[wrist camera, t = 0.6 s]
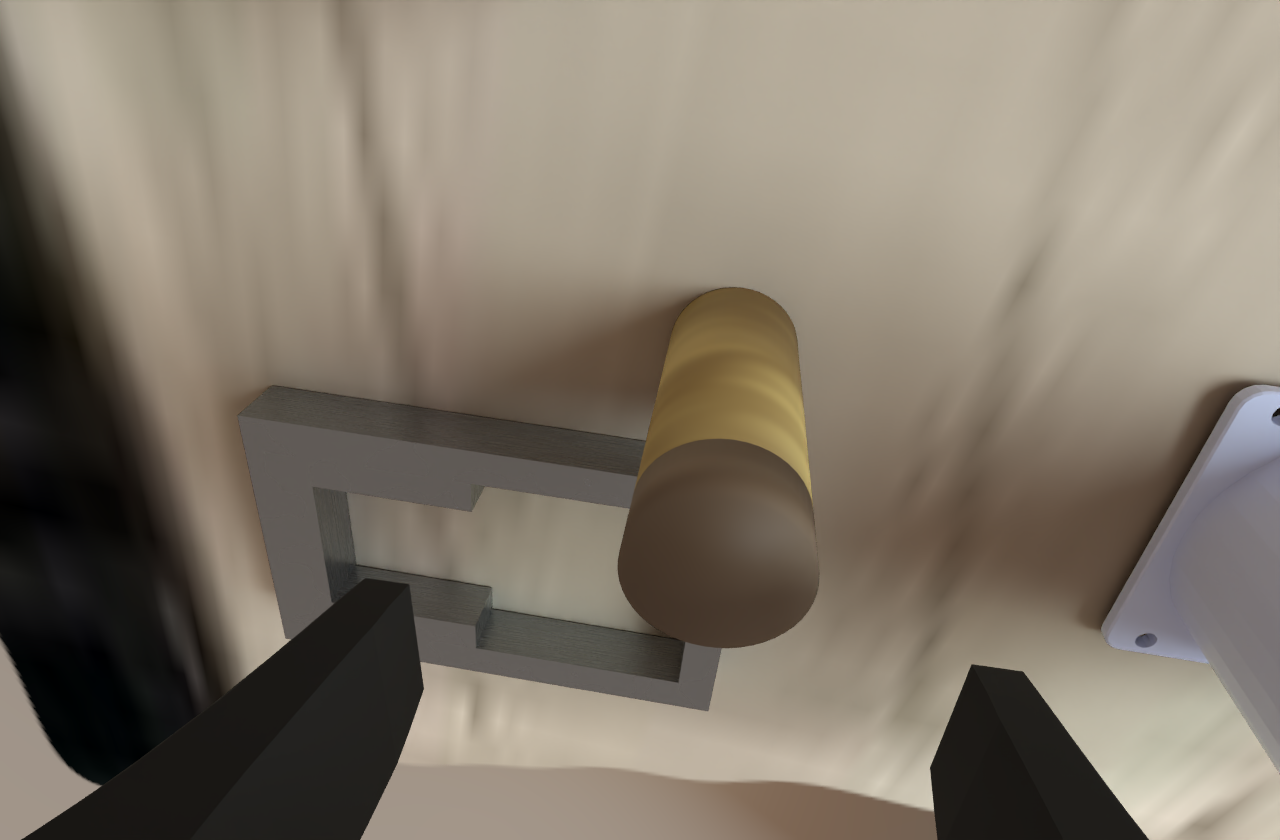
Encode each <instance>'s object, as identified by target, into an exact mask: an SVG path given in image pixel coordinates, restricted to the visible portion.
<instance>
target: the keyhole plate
mask: <svg viewBox="0 0 1280 840" xmlns="http://www.w3.org/2000/svg"><path fill="white" fill-rule="evenodd" d="M237 416H238V421H239V426H240V430H241V435H242V439H243V444H244V449H245V453H246V458H247V462H248V467H249V472H250V476H251V481H252V486H253V490H254V495H255V499H256V504H257V509H258V513H259V518H260V522H261V527H262V532H263V536H264V541H265V545H266V550H267V555H268V559H269V564H270V569H271V573H272V578H273V582H274V587H275V592H276V596H277V601H278V605H279V610H280V615H281V619H282V624H283V628H284V633H285V638H286V639H293V638H294V637H295V636H296V635H298V634H299V633H300V632H301V631H302V630H303V629H305V628H306V627H307V626H308V625H309V624H311V623H312V622H313V621H314V620H315V619H316V618H318V617H319V616H320V615H321V614H322V613H323V612H325V611H326V610H327V609H328V608H329V607H330V606H332V605H333V604H334V603H335V602H336V601H338V600H339V599H340V598H341V597H342V596H343V595H345V594H346V593H347V592H348V591H350V590H351V589H352V588H353V587H354V586H356V585H357V584H358V583H359V582H361V581H362V580H363V579H365V578H370V579H377V580H384V581H391V582H398V583H405V584H409V585H410V593H411V600H412V607H413V614H414V622H415V629H416V636H417V643H418V650H419V658H420V662H426V663H431V664H437V665H443V666H449V667H455V668H460V669H466V670H472V671H478V672H484V673H489V674H495V675H501V676H507V677H512V678H518V679H524V680H530V681H536V682H541V683H547V684H553V685H559V686H565V687H570V688H576V689H582V690H588V691H594V692H599V693H605V694H611V695H617V696H623V697H628V698H634V699H640V700H646V701H652V702H657V703H663V704H669V705H675V706H681V707H686V708H692V709H698V710H704V711H708V710H709V705H710V701H711V696H712V691H713V686H714V681H715V677H716V672H717V667H718V662H719V657H720V653H721V648H713V647H705V646H700V645H695V644H691V643H687V642H684V641H681V640H675V639H669V638H663V637H657V636H651V635H645V634H639V633H633V632H627V631H621V630H615V629H609V628H603V627H597V626H591V625H585V624H579V623H573V622H567V621H561V620H555V619H549V618H543V617H537V616H531V615H525V614H519V613H513V612H507V611H501V610H495V609H492V588H490V587H484V586H478V585H472V584H466V583H459V582H453V581H447V580H441V579H435V578H429V577H423V576H417V575H411V574H405V573H399V572H393V571H387V570H381V569H374V568H368V567H362V566H356V561H355V554H354V546H353V539H352V532H351V525H350V517H349V510H348V503H347V496H346V492H350V493H356V494H363V495H369V496H375V497H382V498H388V499H394V500H401V501H407V502H413V503H420V504H426V505H432V506H438V507H445V508H451V509H457V510H464V511H470V512H472V510H473V508H474V506H475V504H476V502H477V500H478V498H479V497H480V495H481V493H482V491H483V489H484V487H485V486H488V487H495V488H501V489H508V490H514V491H520V492H527V493H533V494H540V495H546V496H553V497H559V498H565V499H572V500H578V501H585V502H591V503H598V504H604V505H610V506H617V507H623V508H630V506H631V502H632V497H633V493H634V489H635V485H636V481H637V477H638V472H639V468H640V464H641V460H642V456H643V451H644V447H645V443H646V441H640V440H633V439H627V438H620V437H613V436H607V435H600V434H593V433H586V432H580V431H573V430H566V429H560V428H553V427H546V426H540V425H533V424H526V423H519V422H513V421H506V420H499V419H493V418H486V417H479V416H473V415H466V414H459V413H453V412H446V411H439V410H432V409H426V408H419V407H412V406H406V405H399V404H392V403H386V402H379V401H372V400H365V399H359V398H352V397H345V396H339V395H332V394H325V393H319V392H312V391H305V390H299V389H292V388H285V387H278V386H271V387H269V388H268V389H267V390H266V391H265V392H264V393H263V394H261V395H260V396H259V397H258V398H257V399H256V400H255V401H253V402H252V403H251V404H250V405H249V406H248V407H247V408H245V409H244V410H243V411H242V412H241V413H240V414H239V415H237Z"/></svg>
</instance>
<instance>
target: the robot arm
mask: <svg viewBox="0 0 1280 840" xmlns="http://www.w3.org/2000/svg"><path fill="white" fill-rule="evenodd" d="M1278 408H1280V387H1277V386H1270V385H1253V386H1250V387H1247V388H1244V389H1242V390H1241V391H1239V392H1238V393H1236V394H1235V395H1234V396H1233V398H1232V399H1231V400H1230V401H1229V403H1228V405H1227V406H1226V408H1225V410H1224V412H1223V413H1222V415H1221V417H1220V419H1219V420H1218V422H1217V424H1216V426H1215V427H1214V429H1213V431H1212V433H1211V434H1210V436H1209V438H1208V440H1207V442H1206V443H1205V445H1204V447H1203V449H1202V450H1201V452H1200V454H1199V456H1198V457H1197V459H1196V461H1195V463H1194V464H1193V466H1192V468H1191V470H1190V471H1189V473H1188V475H1187V477H1186V478H1185V480H1184V482H1183V484H1182V485H1181V487H1180V489H1179V491H1178V492H1177V494H1176V496H1175V498H1174V499H1173V501H1172V503H1171V505H1170V507H1169V508H1168V510H1167V512H1166V514H1165V515H1164V517H1163V519H1162V521H1161V522H1160V524H1159V526H1158V528H1157V529H1156V531H1155V533H1154V535H1153V536H1152V538H1151V540H1150V542H1149V543H1148V545H1147V547H1146V549H1145V550H1144V552H1143V554H1142V556H1141V557H1140V559H1139V561H1138V563H1137V565H1136V566H1135V568H1134V570H1133V572H1132V573H1131V575H1130V577H1129V579H1128V580H1127V582H1126V584H1125V586H1124V587H1123V589H1122V591H1121V593H1120V594H1119V596H1118V598H1117V600H1116V601H1115V603H1114V605H1113V607H1112V608H1111V610H1110V612H1109V614H1108V615H1107V617H1106V619H1105V621H1104V622H1103V624H1102V627H1101V632H1102V635H1103V637H1104V639H1105V641H1106V643H1107V644H1108V645H1110V646H1111V647H1113V648H1116V649H1121V650H1127V651H1133V652H1139V653H1146V654H1152V655H1158V656H1164V657H1170V658H1177V659H1183V660H1189V661H1195V662H1201V663H1208V664H1210V665H1211V667H1212V668H1213V670H1214V672H1215V673H1216V675H1217V676H1218V678H1219V679H1220V681H1221V683H1222V684H1223V686H1224V687H1225V689H1226V690H1227V692H1228V694H1229V695H1230V697H1231V698H1232V700H1233V701H1234V703H1235V705H1236V706H1237V708H1238V709H1239V711H1240V712H1241V714H1242V716H1243V717H1244V719H1245V720H1246V722H1247V723H1248V725H1249V727H1250V728H1251V730H1252V731H1253V733H1254V734H1255V736H1256V738H1257V739H1258V741H1259V742H1260V744H1261V745H1262V747H1263V749H1264V750H1265V752H1266V753H1267V755H1268V756H1269V758H1270V760H1271V761H1272V763H1273V764H1274V766H1275V767H1276V769H1277V771H1278V772H1279V774H1280V415H1278V416H1275V417H1272V414H1273V413H1274V412H1275V411H1276V410H1277V409H1278ZM1146 633H1147V634H1146ZM1142 634H1146V635H1143V636H1139V635H1142ZM423 690H424V687H423V679H422V672H421V665H420V658H419V650H418V643H417V636H416V629H415V622H414V614H413V607H412V600H411V593H410V585H409V584H405V583H398V582H391V581H384V580H377V579H370V578H365V579H363V580H362V581H361V582H359V583H358V584H357V585H356V586H354V587H353V588H352V589H351V590H350V591H348V592H347V593H346V594H345V595H343V596H342V597H341V598H340V599H339V600H338V601H336V602H335V603H334V604H333V605H332V606H330V607H329V608H328V609H327V610H326V611H325V612H323V613H322V614H321V615H320V616H319V617H318V618H316V619H315V620H314V621H313V622H312V623H311V624H309V625H308V626H307V627H306V628H305V629H303V630H302V631H301V632H300V633H299V634H298V635H296V636H295V637H294V638H293V639H292V640H290V641H289V642H288V643H287V644H286V645H284V646H283V647H282V648H281V649H280V650H279V651H277V652H276V653H275V654H274V655H273V656H271V657H270V658H269V659H268V660H266V661H265V662H264V663H263V664H262V665H260V666H259V667H258V668H257V669H255V670H254V671H253V672H252V673H250V674H249V675H248V676H247V677H246V678H244V679H243V680H242V681H241V682H239V683H238V684H237V685H236V686H234V687H233V688H232V689H231V690H229V691H228V692H227V693H226V694H225V695H223V696H222V697H221V698H220V699H218V700H217V701H216V702H215V703H213V704H212V705H211V706H209V707H208V708H207V709H206V710H204V711H203V712H202V713H200V714H199V715H198V716H196V717H195V718H194V719H192V720H191V721H190V722H188V723H187V724H186V725H185V726H183V727H182V728H181V729H179V730H178V731H177V732H175V733H174V734H173V735H171V736H170V737H169V738H167V739H166V740H165V741H163V742H162V743H161V744H159V745H158V746H157V747H155V748H154V749H153V750H151V751H150V752H149V753H147V754H146V755H145V756H143V757H142V758H141V759H139V760H138V761H137V762H135V763H134V764H132V765H131V766H130V767H128V768H127V769H125V770H124V771H123V772H121V773H120V774H118V775H117V776H115V777H114V778H113V779H111V780H110V781H108V782H107V783H106V784H104V785H103V786H101V787H100V788H98V789H97V790H96V791H94V792H93V793H91V794H90V795H88V796H87V797H85V798H84V799H82V800H81V801H79V802H78V803H77V804H75V805H73V806H72V807H70V808H69V809H67V810H66V811H64V812H63V813H61V814H60V815H58V816H57V817H55V818H54V819H52V820H51V821H49V822H48V823H46V824H45V825H43V826H42V827H40V828H39V829H37V830H36V831H34V832H33V833H31V834H29V835H28V836H26V837H25V838H23V839H22V840H360V839H361V836H362V835H363V833H364V831H365V829H366V827H367V825H368V823H369V821H370V819H371V817H372V815H373V813H374V811H375V809H376V807H377V804H378V802H379V800H380V798H381V796H382V794H383V792H384V790H385V788H386V786H387V784H388V782H389V780H390V778H391V776H392V773H393V771H394V769H395V767H396V765H397V763H398V760H399V757H400V755H401V752H402V749H403V747H404V744H405V741H406V739H407V736H408V733H409V730H410V728H411V725H412V722H413V719H414V716H415V713H416V710H417V707H418V704H419V702H420V699H421V696H422V693H423ZM930 771H931V782H932V792H933V802H934V813H935V821H936V828H937V829H936V830H937V838H938V840H1149V839H1148V838H1147V837H1146V835H1145V834H1144V833H1143V831H1142V830H1141V829H1140V828H1139V826H1138V825H1137V824H1136V822H1135V821H1134V820H1133V819H1132V817H1131V816H1130V815H1129V814H1128V812H1127V811H1126V810H1125V808H1124V807H1123V806H1122V804H1121V803H1120V802H1119V800H1118V799H1117V798H1116V796H1115V795H1114V794H1113V793H1112V791H1111V790H1110V789H1109V787H1108V786H1107V785H1106V783H1105V782H1104V781H1103V779H1102V778H1101V776H1100V775H1099V774H1098V772H1097V771H1096V770H1095V768H1094V767H1093V766H1092V764H1091V763H1090V762H1089V760H1088V759H1087V758H1086V756H1085V755H1084V754H1083V752H1082V751H1081V750H1080V748H1079V747H1078V745H1077V744H1076V743H1075V741H1074V740H1073V739H1072V737H1071V736H1070V735H1069V733H1068V732H1067V730H1066V729H1065V728H1064V726H1063V725H1062V724H1061V722H1060V721H1059V719H1058V718H1057V717H1056V715H1055V714H1054V713H1053V711H1052V710H1051V709H1050V707H1049V706H1048V704H1047V703H1046V702H1045V700H1044V699H1043V698H1042V696H1041V695H1040V694H1039V692H1038V691H1037V690H1036V688H1035V687H1034V686H1033V684H1032V683H1031V682H1030V680H1029V679H1028V678H1027V676H1026V675H1025V674H1024V672H1022V671H1015V670H1008V669H1001V668H994V667H987V666H979V665H971V667H970V670H969V672H968V675H967V677H966V680H965V682H964V685H963V687H962V690H961V692H960V695H959V697H958V700H957V702H956V705H955V707H954V710H953V712H952V715H951V717H950V720H949V722H948V725H947V727H946V730H945V732H944V735H943V737H942V740H941V742H940V745H939V747H938V750H937V752H936V755H935V757H934V759H933V762H932V764H931V767H930Z"/></svg>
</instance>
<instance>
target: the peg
mask: <svg viewBox="0 0 1280 840" xmlns="http://www.w3.org/2000/svg"><path fill="white" fill-rule="evenodd" d="M618 575H619V581H620V584H621V587H622V590H623V592H624V594H625V596H626V598H627V600H628V601H629V603H630V604H631V606H632V607H633V608H634V609H635V610H636V612H637V613H638V614H639V615H640V616H641V617H642V618H643V619H645V620H646V621H647V622H648V623H649V624H651V625H652V626H654V627H655V628H656V629H658V630H660V631H662V632H663V633H665V634H667V635H669V636H671V637H674V638H676V639H678V640H681V641H684V642H687V643H691V644H695V645H700V646H705V647H713V648H737V647H745V646H751V645H755V644H759V643H763V642H766V641H768V640H771V639H773V638H776V637H777V636H779V635H781V634H783V633H785V632H786V631H788V630H789V629H791V628H792V627H794V626H795V625H796V624H797V623H798V622H799V621H800V620H801V619H802V618H803V617H804V616H805V615H806V613H807V612H808V611H809V609H810V607H811V606H812V604H813V602H814V600H815V597H816V594H817V591H818V586H819V566H818V555H817V545H816V534H815V524H814V513H813V502H812V492H811V481H810V471H809V460H808V449H807V439H806V428H805V418H804V407H803V396H802V386H801V375H800V365H799V354H798V343H797V336H796V331H795V328H794V325H793V323H792V321H791V319H790V317H789V316H788V314H787V313H786V312H785V310H784V309H783V308H782V307H781V306H780V305H779V304H778V303H777V302H775V301H774V300H773V299H771V298H770V297H768V296H766V295H764V294H762V293H760V292H757V291H754V290H750V289H745V288H735V287H734V288H723V289H717V290H714V291H711V292H708V293H706V294H704V295H701V296H700V297H698V298H697V299H695V300H694V301H692V302H691V303H690V304H689V305H688V306H687V307H686V308H685V309H684V310H683V311H682V313H681V314H680V315H679V317H678V319H677V320H676V322H675V325H674V327H673V330H672V334H671V338H670V342H669V347H668V351H667V355H666V359H665V363H664V368H663V372H662V376H661V380H660V384H659V389H658V393H657V397H656V401H655V405H654V409H653V414H652V418H651V422H650V426H649V430H648V435H647V439H646V443H645V447H644V451H643V456H642V460H641V464H640V468H639V472H638V477H637V481H636V485H635V489H634V493H633V497H632V502H631V506H630V510H629V514H628V518H627V523H626V527H625V531H624V535H623V539H622V544H621V548H620V552H619V558H618Z"/></svg>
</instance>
